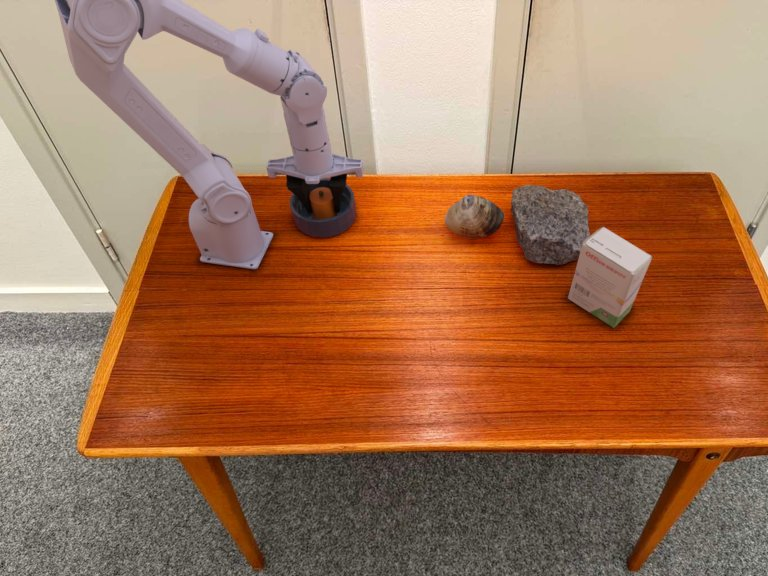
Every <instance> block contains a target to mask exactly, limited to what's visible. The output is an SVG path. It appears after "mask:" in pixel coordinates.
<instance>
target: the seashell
mask: <svg viewBox="0 0 768 576" xmlns="http://www.w3.org/2000/svg"><path fill="white" fill-rule="evenodd" d="M504 220H505V212H504V210H502V209H501V208H500V207H499V206H498V205H497V204H495V203H494V202H492V200H490V199H488V198H486V197H483V196H479V195H474V194H467V195H465V196H463V197H461V199H460V200H458V201H456V202H455V203H453V204H452V205H451V206H450V207H449V208H448V210H447V211H446V213H445V216H444V225H445V226H446V227H447V229H448V230H449V231H450V232H452V233H453V234H455V235H457V236H458V237H461V238H465V239H471V240H479V239H483V238H487V237H490V236H492V235H493V234H495V233H496V232H497V231H499V229H500V228H501V226H502V224H503V222H504Z"/></svg>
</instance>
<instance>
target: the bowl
mask: <svg viewBox="0 0 768 576" xmlns="http://www.w3.org/2000/svg"><path fill="white" fill-rule="evenodd" d="M329 184H330V177H329V178H325V179H320V182H319V183H318V184H308V185H309V189H310V193H311V192H312V191H313V190H314V189H316V188H320V187H325V188H329ZM329 189H330V188H329ZM356 205H357V204H356V198H355V193H354V192H353V189H352V188H351V187H350V185H348V184H347V183H346V186H345V189H344V191H343V193H342V196H341V208H340V213H338V214H337V216H335V217H332V218H329V219H322V220H315V219H314V217H313V212H312V213H308V212H307V210H306V209H305V207H304V205H303V204H302V202H301V201H300V200H299V199H298V197H297V196H296V195H295V194H293V193H292V192H291V195H290V198H289V209H290V213H291V216H292V220H293V223H294V226H295V227H296V228H297V229H298V230H299V231H300V232H301V233H302V234H305V235H307V236H310V237H314V238H331V237H336V236H338V235H340V234H342V233H344V232H345V231H347V230H348V229H350V227H351V226H352V225H353V224H354V223H355V221H356V217H357V215H358V214H357V206H356Z"/></svg>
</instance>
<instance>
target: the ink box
mask: <svg viewBox="0 0 768 576" xmlns="http://www.w3.org/2000/svg"><path fill="white" fill-rule="evenodd" d="M652 259H653V256H652V255H651V254H649V253H648V252H647V251H644V250H643V249H641V248H639V247H637V246H636V245H634V244H632V243H631V242H629V241H628V240H626V239H624V237H621V236H619V235H618V234H616V233H614V232H613V231H611V230H609V228H606V227H605V226H601V227H600V228H599V229H597V230H596V231H595V232H593V233H592V234H590V237H589V238H588V239H586V240H585V241H584V242H583V244H582V248H581V252H580V255H579V258H578V259H577V263H576V267H575V270H574V275H573V278H572V282H571V285H570V288H569V291H568V295H567V299H568V300H569V301H570V302H572V303H574V304H576V305H577V306H579V307H580V308H581V309H583V310H585V311H586V312H587V313H589V314H590V315H593V317H596V318H597V319H599V320H600V321H601V322H603V323H604V324H606V325H608V326H609V327H611V328H612V329H615V328H616V327H617V326H618V325H619V324H620V322H622V321H623V319H624V318H625V317H627V315H628V314H629V313H630V312H631V309H632V307H633V305H634V302H635V300H636V298H637V295H638V293H639V290H640V288H641V286H642V283H643V280H644V278H645V276H646V273H647V271H648V269H649V266H650V264H651V262H652Z"/></svg>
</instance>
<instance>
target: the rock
mask: <svg viewBox="0 0 768 576" xmlns="http://www.w3.org/2000/svg"><path fill="white" fill-rule="evenodd" d="M511 193H512V196H511V199H510V200H511V201H510V204H511V207H510V212H511V216H512V218H513V221H514V222H513V223H514V228H515V234H516V240H517V243H518V245H519V247H520V248H521V249H522V251H523V252H522V253H523V254H524V258H525V259H526V260H527V261H530V262H531V263H535V264H544V265H547V264H549V265H556V266H560V265H561V266H562V265H564V264H565V265H566V264H568V262H574V261H577V260H578V259H579V255H580V252H581V248H582V244H583V242H584V241H585V240H586V239H588V238H589V237H590V236H591V232H590V227H589V217H590V216H589V206H588V204H586V203H585V202H584V201H583V200H582V199H583V198H582V197H581V195H580V194H576V193H575V191H572V190H569V189H566V188H565V189H564V188H563V189H549V188H548V187H545V186H544V185H536V184H526V185H521V186H519V187H515V188H514V189H513V190H512V192H511Z"/></svg>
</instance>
